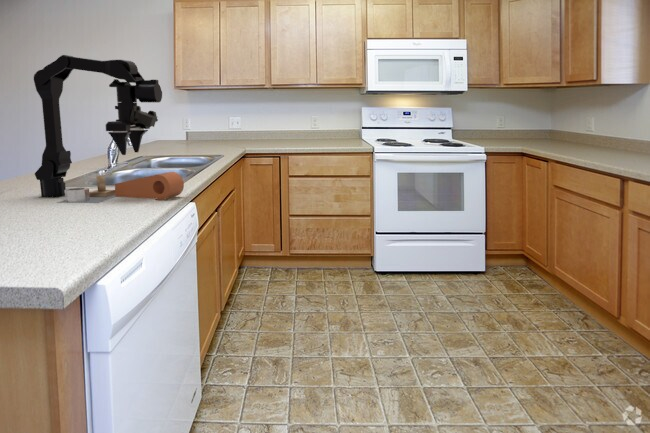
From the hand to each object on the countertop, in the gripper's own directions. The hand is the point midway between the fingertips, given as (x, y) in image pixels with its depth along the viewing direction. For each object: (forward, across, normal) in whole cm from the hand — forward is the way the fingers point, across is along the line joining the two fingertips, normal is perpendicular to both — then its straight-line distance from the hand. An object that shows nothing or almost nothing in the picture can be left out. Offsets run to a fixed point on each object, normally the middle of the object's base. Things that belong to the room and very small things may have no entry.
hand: (130, 153), depth 179 cm
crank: (+14, +2, -4) cm, 15 cm away
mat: (+14, -3, +12) cm, 19 cm away
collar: (+14, -8, +14) cm, 21 cm away
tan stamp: (+14, +2, +11) cm, 18 cm away
